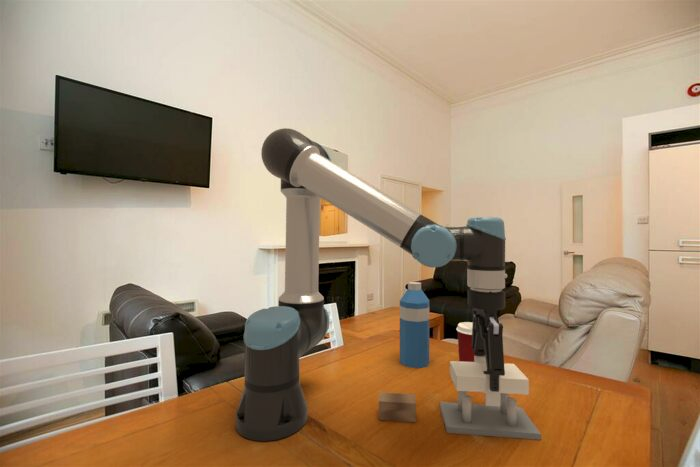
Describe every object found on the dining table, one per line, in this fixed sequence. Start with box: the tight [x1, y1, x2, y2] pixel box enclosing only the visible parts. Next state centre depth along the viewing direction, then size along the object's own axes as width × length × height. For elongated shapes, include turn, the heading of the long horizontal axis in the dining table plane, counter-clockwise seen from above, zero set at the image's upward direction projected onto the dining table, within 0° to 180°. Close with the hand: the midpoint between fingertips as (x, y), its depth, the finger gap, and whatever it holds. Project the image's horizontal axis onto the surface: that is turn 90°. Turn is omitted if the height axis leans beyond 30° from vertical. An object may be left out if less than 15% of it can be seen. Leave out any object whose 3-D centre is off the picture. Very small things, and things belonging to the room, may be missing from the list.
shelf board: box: [449, 360, 530, 396], centre depth 70 cm, size 14×8×3 cm, turn 83°
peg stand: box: [439, 391, 542, 441], centre depth 70 cm, size 18×10×6 cm, turn 83°
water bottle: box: [399, 281, 430, 369], centre depth 102 cm, size 9×9×25 cm
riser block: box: [378, 391, 417, 423], centre depth 72 cm, size 8×4×4 cm, turn 83°
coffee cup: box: [455, 321, 485, 362], centre depth 91 cm, size 8×8×15 cm
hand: (486, 394), depth 70 cm, fingers closed on shelf board, 8 cm apart
